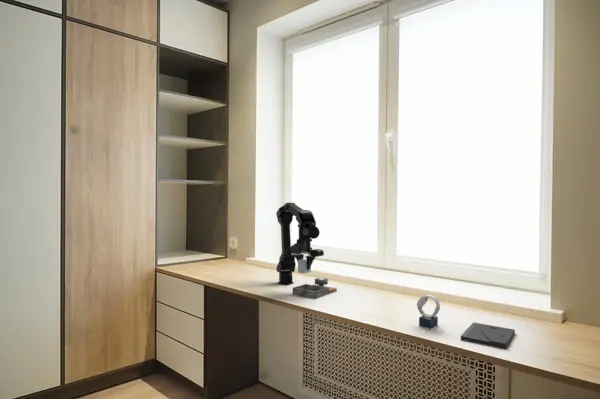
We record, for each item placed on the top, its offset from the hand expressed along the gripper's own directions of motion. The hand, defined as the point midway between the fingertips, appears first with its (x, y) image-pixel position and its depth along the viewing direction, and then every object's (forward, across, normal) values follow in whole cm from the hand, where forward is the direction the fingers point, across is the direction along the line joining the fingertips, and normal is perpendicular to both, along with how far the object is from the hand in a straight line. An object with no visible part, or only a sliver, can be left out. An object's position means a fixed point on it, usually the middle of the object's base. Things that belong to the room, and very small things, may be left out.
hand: (304, 269), depth 192 cm
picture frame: (+13, +83, -9) cm, 85 cm away
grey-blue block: (+1, 0, 0) cm, 1 cm away
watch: (+12, +63, -10) cm, 65 cm away
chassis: (+11, +3, +5) cm, 13 cm away
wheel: (+8, +3, +10) cm, 13 cm away
